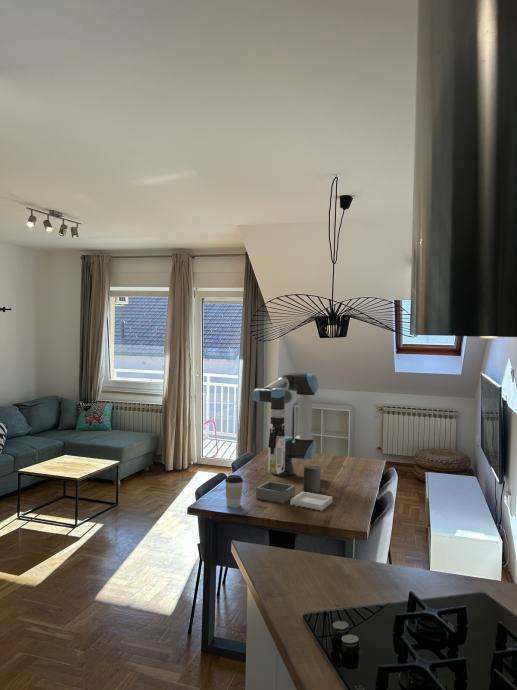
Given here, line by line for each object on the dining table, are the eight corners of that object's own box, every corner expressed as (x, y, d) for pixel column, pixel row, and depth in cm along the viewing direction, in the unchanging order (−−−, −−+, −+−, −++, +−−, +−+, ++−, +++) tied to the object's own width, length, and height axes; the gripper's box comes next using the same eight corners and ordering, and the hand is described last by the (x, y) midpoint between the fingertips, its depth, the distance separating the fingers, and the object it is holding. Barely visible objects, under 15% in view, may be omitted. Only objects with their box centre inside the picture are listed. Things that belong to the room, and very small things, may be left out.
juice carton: (286, 471, 267) (286, 436, 267) (278, 474, 260) (279, 439, 260) (274, 469, 271) (274, 434, 271) (266, 472, 264) (267, 437, 263)
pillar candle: (300, 491, 276) (301, 465, 276) (305, 486, 285) (306, 461, 285) (317, 494, 272) (318, 467, 272) (321, 489, 282) (322, 463, 281)
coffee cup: (225, 502, 254) (226, 473, 254) (242, 502, 254) (243, 473, 254) (223, 507, 245) (224, 478, 245) (241, 508, 245) (242, 478, 245)
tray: (290, 505, 252) (290, 499, 252) (302, 496, 266) (302, 491, 266) (321, 511, 244) (321, 505, 244) (332, 502, 258) (332, 496, 258)
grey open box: (255, 497, 262) (256, 487, 262) (268, 490, 276) (269, 481, 276) (282, 503, 255) (283, 492, 255) (294, 495, 268) (294, 485, 268)
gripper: (274, 419, 254) (273, 463, 254) (292, 414, 273) (291, 455, 273) (262, 418, 257) (261, 461, 258) (280, 413, 276) (279, 453, 276)
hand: (276, 458), depth 265 cm, fingers closed on juice carton, 8 cm apart
